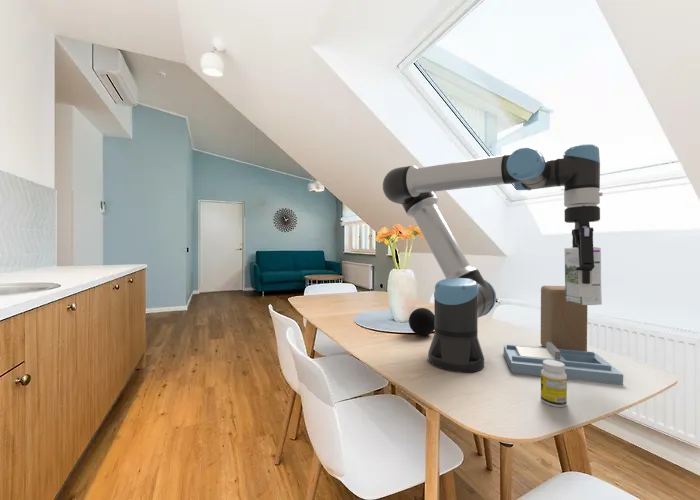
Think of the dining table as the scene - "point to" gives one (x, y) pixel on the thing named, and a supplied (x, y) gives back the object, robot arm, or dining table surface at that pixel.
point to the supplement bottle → (554, 383)
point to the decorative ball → (422, 321)
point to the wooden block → (562, 320)
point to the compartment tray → (567, 365)
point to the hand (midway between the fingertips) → (582, 294)
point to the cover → (539, 352)
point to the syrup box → (572, 278)
